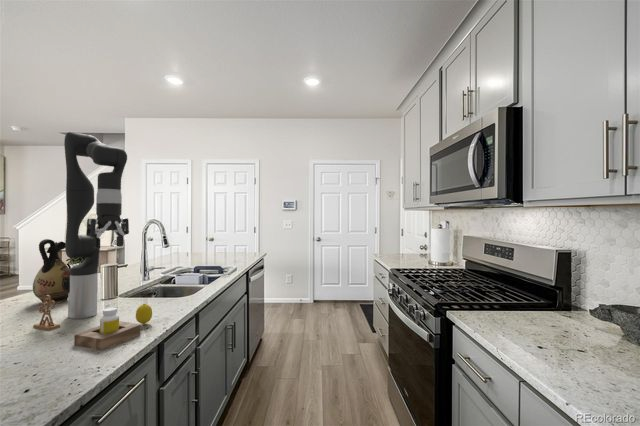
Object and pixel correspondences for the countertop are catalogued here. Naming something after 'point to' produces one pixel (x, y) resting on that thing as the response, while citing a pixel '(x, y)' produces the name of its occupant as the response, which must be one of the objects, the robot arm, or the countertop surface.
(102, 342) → the block
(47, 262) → the ceramic jug
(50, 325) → the brown figurine
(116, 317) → the supplement bottle
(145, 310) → the lemon
